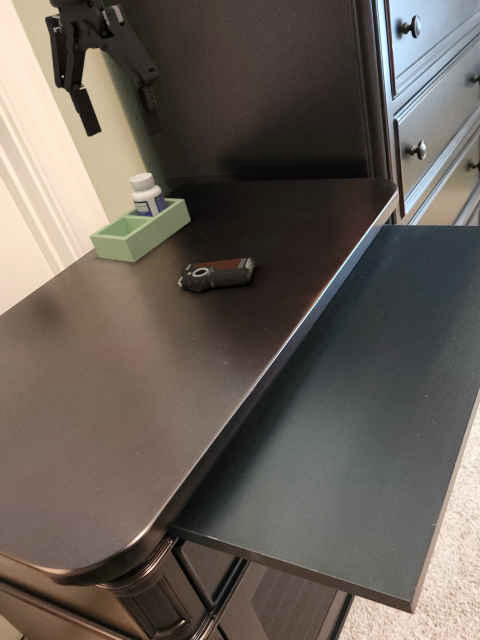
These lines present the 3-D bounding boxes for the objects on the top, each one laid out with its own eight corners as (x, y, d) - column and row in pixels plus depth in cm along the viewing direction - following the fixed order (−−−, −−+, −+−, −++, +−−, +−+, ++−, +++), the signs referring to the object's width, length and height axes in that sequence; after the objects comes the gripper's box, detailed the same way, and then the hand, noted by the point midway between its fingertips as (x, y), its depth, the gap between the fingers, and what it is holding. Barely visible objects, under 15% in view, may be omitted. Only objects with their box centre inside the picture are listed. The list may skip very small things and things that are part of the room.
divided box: (98, 258, 91) (88, 236, 89) (156, 218, 101) (149, 197, 98) (134, 262, 87) (125, 239, 85) (190, 220, 97) (184, 199, 94)
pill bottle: (167, 217, 98) (150, 168, 92) (176, 225, 95) (159, 175, 89) (140, 226, 97) (122, 178, 91) (148, 235, 93) (129, 185, 87)
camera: (244, 274, 73) (171, 282, 75) (249, 291, 75) (178, 298, 77) (251, 249, 77) (182, 257, 79) (256, 266, 79) (189, 273, 81)
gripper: (152, -50, 68) (197, 125, 82) (29, -25, 79) (87, 127, 93) (113, -43, 64) (167, 142, 78) (-12, -17, 75) (55, 141, 89)
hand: (124, 134), depth 86 cm, fingers open, 13 cm apart
